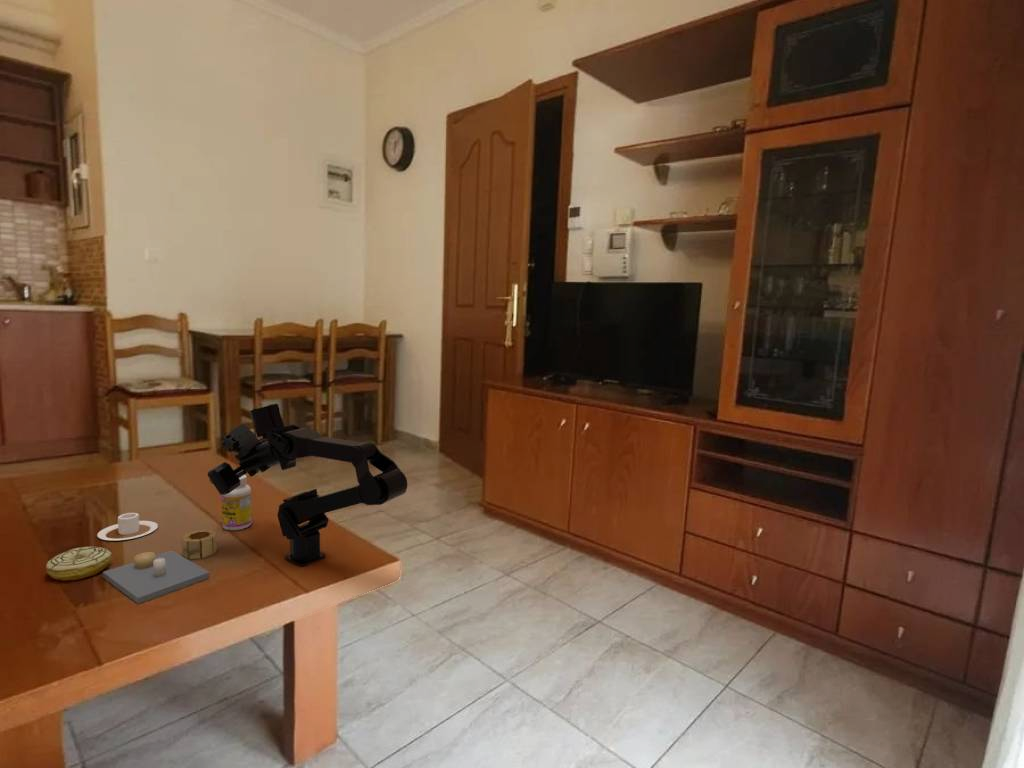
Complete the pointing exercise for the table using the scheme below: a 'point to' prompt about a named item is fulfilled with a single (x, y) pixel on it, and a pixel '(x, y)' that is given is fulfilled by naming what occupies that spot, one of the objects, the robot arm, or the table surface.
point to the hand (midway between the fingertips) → (226, 471)
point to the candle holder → (127, 527)
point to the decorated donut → (78, 563)
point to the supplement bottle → (237, 507)
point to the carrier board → (152, 584)
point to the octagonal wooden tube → (199, 544)
